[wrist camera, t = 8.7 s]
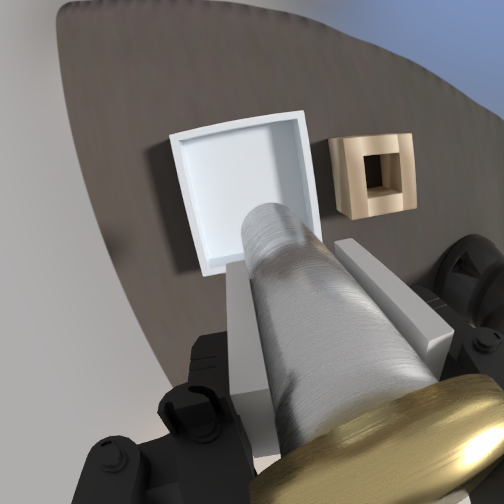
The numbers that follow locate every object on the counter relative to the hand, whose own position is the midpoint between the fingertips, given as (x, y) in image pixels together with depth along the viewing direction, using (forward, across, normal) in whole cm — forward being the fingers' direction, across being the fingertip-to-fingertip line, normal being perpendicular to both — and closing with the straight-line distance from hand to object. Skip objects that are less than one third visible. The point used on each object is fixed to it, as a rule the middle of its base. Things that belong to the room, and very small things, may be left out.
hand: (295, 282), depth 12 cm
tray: (+25, 0, 0) cm, 25 cm away
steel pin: (+7, 0, 0) cm, 7 cm away
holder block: (+25, -15, 0) cm, 29 cm away
